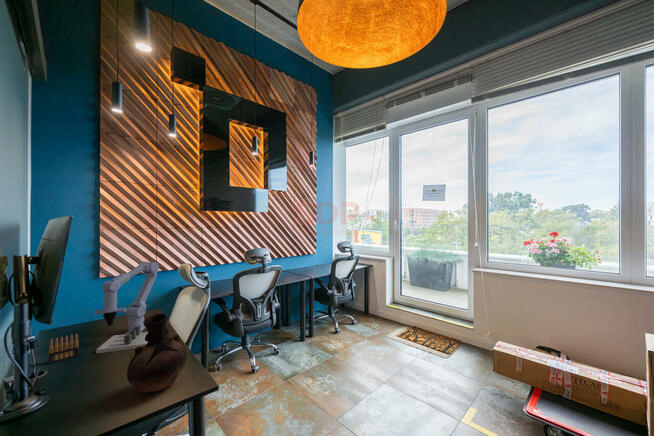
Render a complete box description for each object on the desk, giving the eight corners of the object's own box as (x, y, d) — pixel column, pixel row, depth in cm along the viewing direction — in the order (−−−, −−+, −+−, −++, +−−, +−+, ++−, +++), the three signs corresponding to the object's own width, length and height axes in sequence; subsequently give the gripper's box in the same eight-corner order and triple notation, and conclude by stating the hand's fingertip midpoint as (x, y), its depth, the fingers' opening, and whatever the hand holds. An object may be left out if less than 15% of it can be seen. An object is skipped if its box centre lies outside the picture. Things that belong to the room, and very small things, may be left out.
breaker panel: (113, 339, 153) (113, 335, 153) (155, 334, 160) (155, 330, 160) (96, 353, 136) (96, 349, 136) (144, 347, 142) (144, 343, 143)
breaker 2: (135, 333, 155) (135, 326, 155) (140, 333, 156) (140, 325, 156) (133, 335, 152) (133, 328, 153) (138, 335, 153) (138, 327, 153)
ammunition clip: (48, 364, 125) (48, 339, 126) (48, 363, 127) (48, 338, 127) (78, 356, 133) (79, 333, 133) (78, 355, 134) (79, 332, 134)
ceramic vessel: (181, 369, 121) (182, 304, 122) (191, 386, 108) (192, 314, 108) (124, 388, 107) (126, 315, 108) (128, 411, 94) (129, 327, 95)
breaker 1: (126, 342, 144) (126, 334, 144) (131, 341, 145) (131, 333, 145) (124, 344, 141) (124, 336, 141) (129, 343, 142) (129, 335, 142)
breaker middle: (131, 337, 150) (131, 329, 150) (136, 337, 150) (136, 329, 150) (129, 339, 147) (129, 332, 147) (134, 339, 147) (134, 331, 148)
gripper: (91, 305, 144) (90, 329, 144) (122, 302, 148) (121, 326, 148) (98, 301, 151) (97, 325, 151) (127, 299, 155) (127, 322, 155)
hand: (110, 325), depth 150 cm, fingers closed
